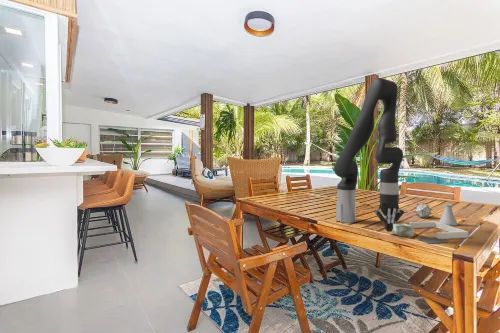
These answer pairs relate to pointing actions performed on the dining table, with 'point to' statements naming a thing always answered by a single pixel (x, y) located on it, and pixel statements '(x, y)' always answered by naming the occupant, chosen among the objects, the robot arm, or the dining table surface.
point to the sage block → (402, 230)
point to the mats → (432, 240)
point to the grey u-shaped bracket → (451, 230)
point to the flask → (448, 216)
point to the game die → (423, 210)
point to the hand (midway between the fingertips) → (389, 231)
